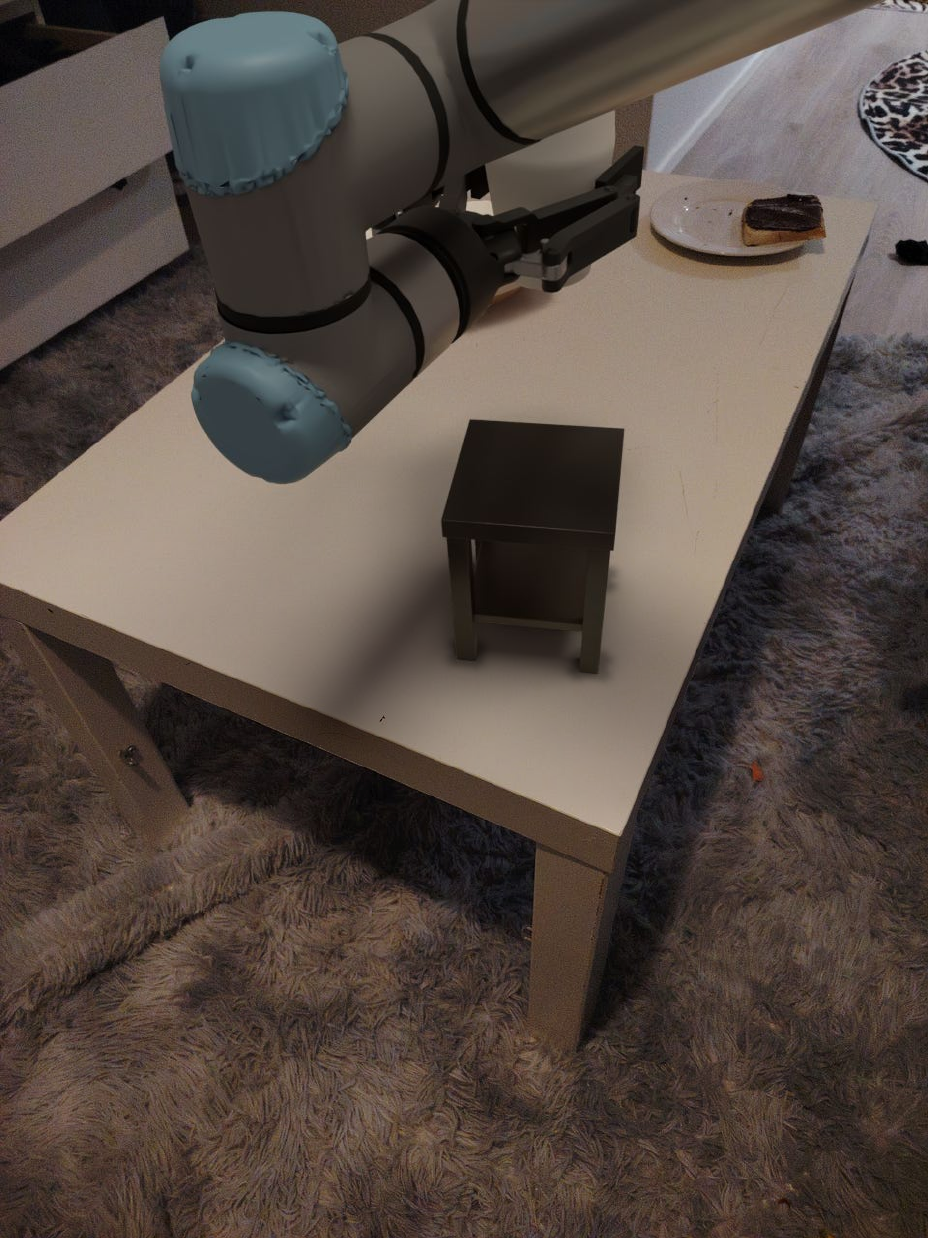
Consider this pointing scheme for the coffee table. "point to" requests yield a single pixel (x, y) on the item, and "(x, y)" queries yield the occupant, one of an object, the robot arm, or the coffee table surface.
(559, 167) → the cup
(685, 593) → the coffee table surface
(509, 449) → the high stand
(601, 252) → the robot arm
